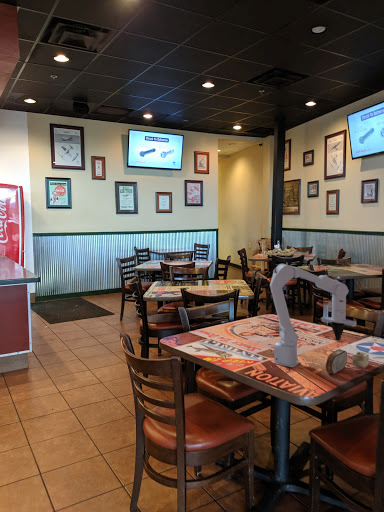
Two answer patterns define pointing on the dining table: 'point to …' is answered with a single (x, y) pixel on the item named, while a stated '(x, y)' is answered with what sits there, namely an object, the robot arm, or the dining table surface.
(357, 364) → the letter cube
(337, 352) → the tin
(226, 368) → the dining table surface
